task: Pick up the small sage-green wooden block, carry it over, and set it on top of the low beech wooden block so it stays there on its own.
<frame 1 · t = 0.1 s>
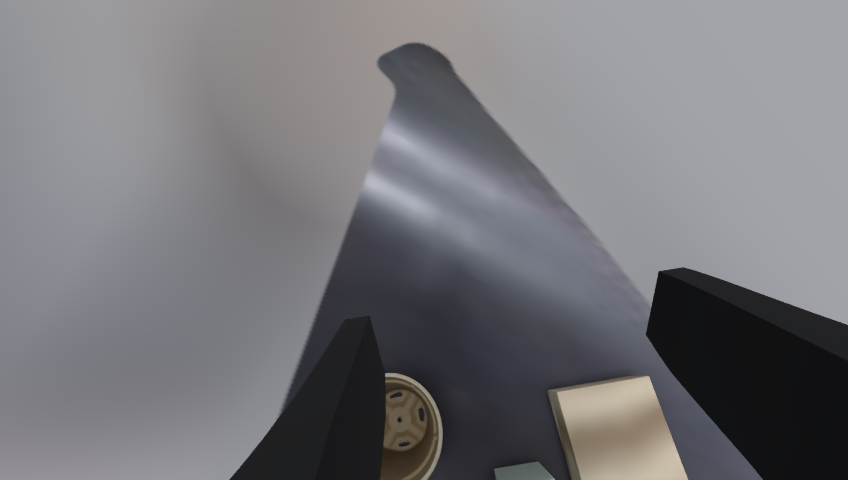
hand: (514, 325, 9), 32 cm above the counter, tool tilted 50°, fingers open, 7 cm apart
flower pot: (401, 419, 37), on the counter
beech base: (602, 429, 35), on the counter
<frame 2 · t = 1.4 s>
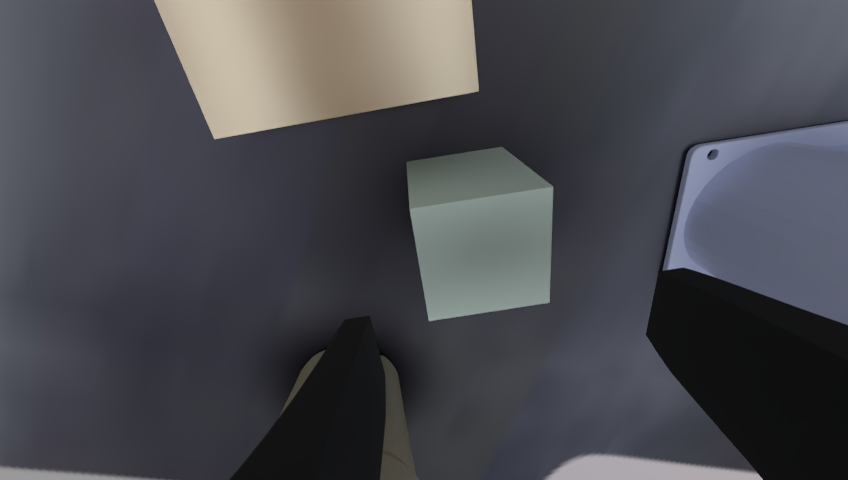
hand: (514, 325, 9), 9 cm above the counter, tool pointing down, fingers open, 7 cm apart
sage block: (458, 199, 17), on the counter
flower pot: (351, 376, 22), on the counter
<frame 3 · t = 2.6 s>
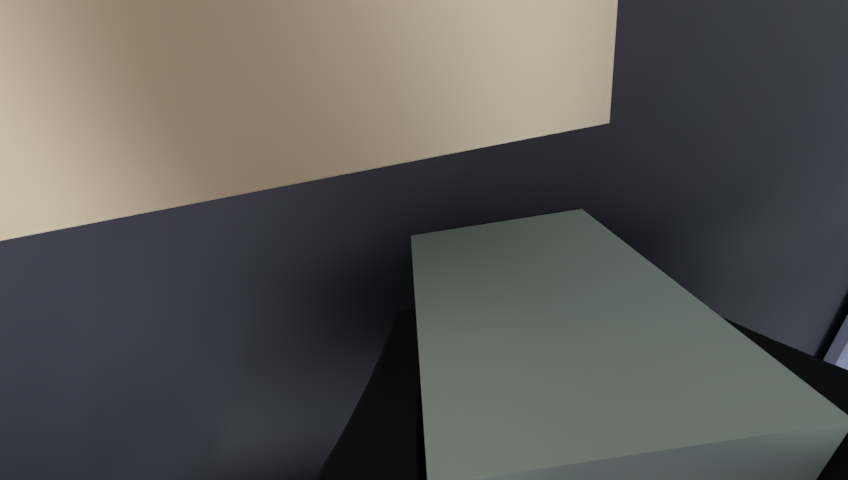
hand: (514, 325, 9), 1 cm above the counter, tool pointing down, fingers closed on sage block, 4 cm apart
sage block: (499, 292, 10), on the counter, touching gripper
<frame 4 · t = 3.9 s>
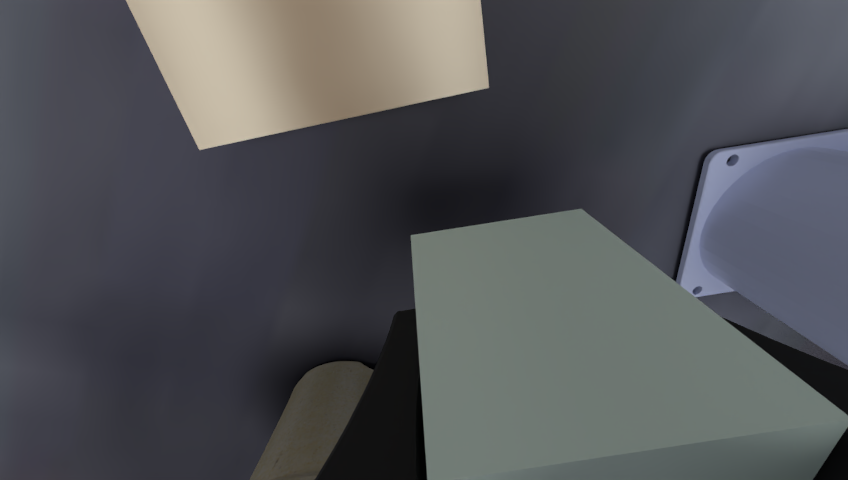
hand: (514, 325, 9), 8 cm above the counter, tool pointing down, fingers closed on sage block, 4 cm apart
sage block: (499, 291, 10), point 7 cm above the counter, touching gripper
flower pot: (348, 392, 21), on the counter
when the fingers open (7 cm above the counter, at t = 5.5 s): sage block drops 2 cm, point 4 cm above the counter.
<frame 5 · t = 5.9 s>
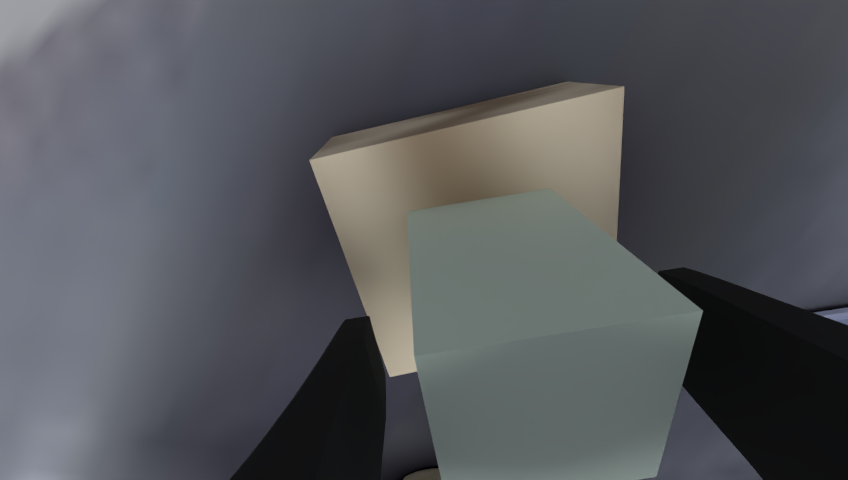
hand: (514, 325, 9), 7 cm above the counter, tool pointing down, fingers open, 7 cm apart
sage block: (483, 261, 12), point 4 cm above the counter
beech base: (464, 214, 15), on the counter
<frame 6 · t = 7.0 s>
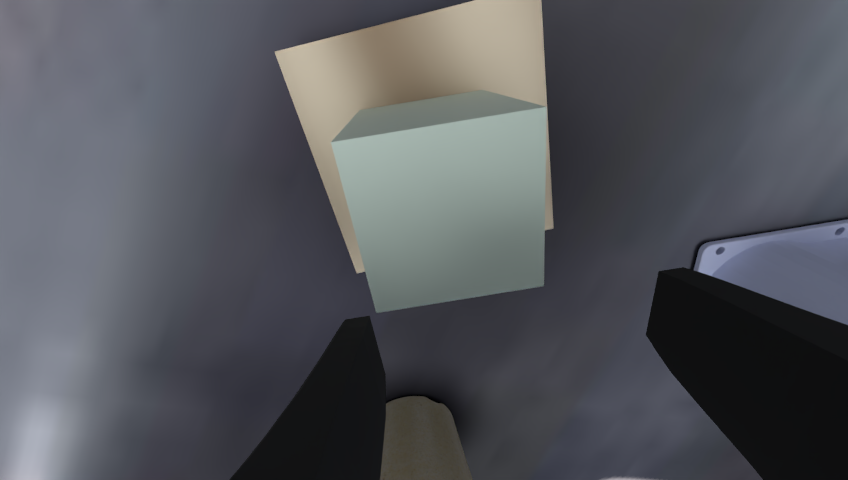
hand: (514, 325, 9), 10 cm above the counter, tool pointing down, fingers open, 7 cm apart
sage block: (429, 161, 13), point 4 cm above the counter
flower pot: (412, 418, 26), on the counter
beech base: (425, 134, 17), on the counter
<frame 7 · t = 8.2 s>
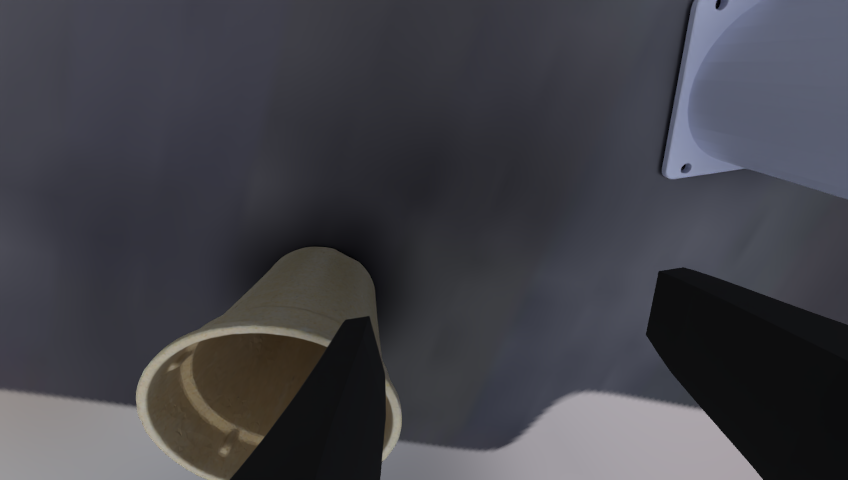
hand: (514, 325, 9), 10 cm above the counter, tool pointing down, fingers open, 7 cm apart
flower pot: (324, 287, 21), on the counter
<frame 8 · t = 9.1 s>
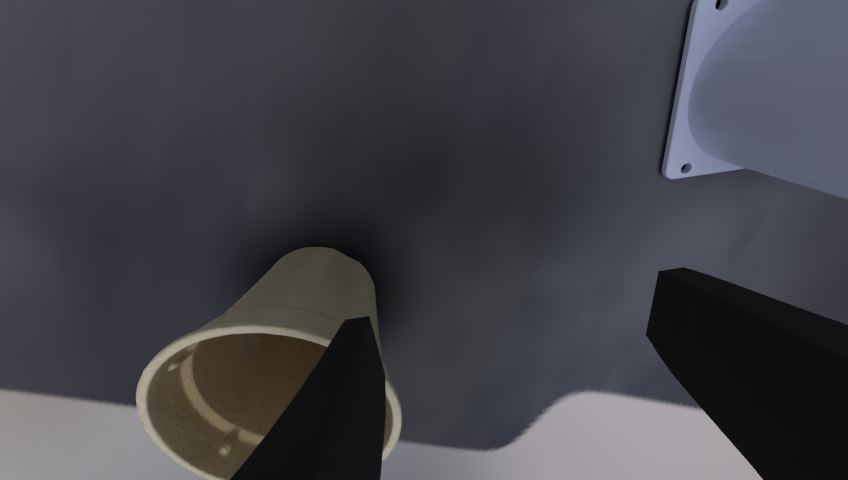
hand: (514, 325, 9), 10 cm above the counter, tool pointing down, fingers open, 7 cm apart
flower pot: (324, 287, 21), on the counter
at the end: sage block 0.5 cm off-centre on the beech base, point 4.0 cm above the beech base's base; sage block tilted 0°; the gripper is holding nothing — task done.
